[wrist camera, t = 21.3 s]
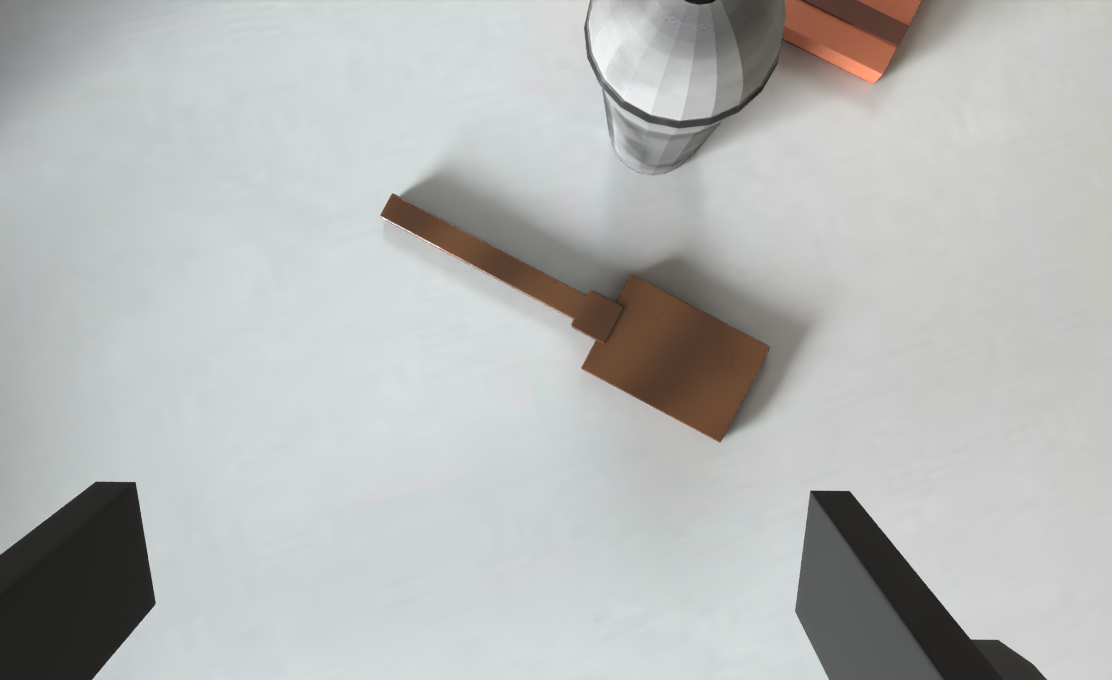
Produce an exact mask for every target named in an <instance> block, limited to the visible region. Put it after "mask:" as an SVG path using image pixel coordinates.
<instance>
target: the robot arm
mask: <svg viewBox="0 0 1112 680" xmlns="http://www.w3.org/2000/svg"><path fill="white" fill-rule="evenodd" d="M155 604H156V603H155V597H154V591H153V585H152V579H151V573H150V566H149V560H148V554H147V548H146V542H145V536H144V530H143V524H142V518H141V512H140V506H139V500H138V494H137V488H136V482H95V483H94V484H92V485H91V486H90V487H88V488H87V489H86V490H85V491H83V492H82V493H81V494H79V495H78V496H77V497H75V498H74V499H73V500H71V501H70V502H69V503H68V504H66V505H65V506H64V507H62V508H61V509H60V510H58V511H57V512H56V513H54V514H53V515H52V516H51V517H49V518H48V519H47V520H45V521H44V522H43V523H41V524H40V525H39V526H37V527H36V528H35V529H34V530H32V531H31V532H30V533H28V534H27V535H26V536H24V537H23V538H22V539H21V540H19V541H18V542H17V543H15V544H14V545H13V546H11V547H10V548H9V549H7V550H6V551H5V552H4V553H2V554H1V555H0V680H92V679H93V678H94V677H95V675H96V674H97V673H98V672H99V671H100V669H101V668H102V667H103V666H104V665H105V663H106V662H107V661H108V660H109V659H110V658H111V656H112V655H113V654H114V653H115V652H116V650H117V649H118V648H119V647H120V646H121V644H122V643H123V642H124V641H125V640H126V639H127V637H128V636H129V635H130V634H131V633H132V631H133V630H134V629H135V628H136V627H137V626H138V624H139V623H140V622H141V621H142V620H143V618H144V617H145V616H146V615H147V614H148V612H149V611H150V610H151V609H152V608H153V607H154V605H155ZM795 612H796V614H797V616H798V618H799V620H800V622H801V624H802V626H803V628H804V630H805V632H806V634H807V636H808V638H809V640H810V642H811V644H812V646H813V648H814V650H815V652H816V654H817V656H818V658H819V660H820V662H821V664H822V666H823V668H824V670H825V672H826V674H827V676H828V678H829V680H1047V679H1046V678H1045V677H1044V676H1043V675H1042V674H1041V673H1040V672H1039V670H1038V669H1037V668H1036V667H1035V666H1034V665H1033V664H1032V663H1031V662H1029V661H1028V660H1026V659H1025V658H1023V657H1022V656H1020V655H1019V654H1018V653H1016V652H1015V651H1013V650H1012V649H1010V648H1009V647H1007V646H1006V645H1005V644H1003V643H1002V642H1000V641H999V640H971V639H970V638H969V637H968V636H967V635H966V633H965V632H964V631H963V630H962V628H961V627H960V626H959V625H958V623H957V622H956V621H955V620H954V619H953V617H952V616H951V615H950V614H949V612H948V611H947V610H946V609H945V608H944V606H943V605H942V604H941V603H940V601H939V600H938V599H937V598H936V596H935V595H934V594H933V593H932V592H931V590H930V589H929V588H928V587H927V585H926V584H925V583H924V582H923V581H922V579H921V578H920V577H919V576H918V574H917V573H916V572H915V571H914V569H913V568H912V567H911V566H910V565H909V563H908V562H907V561H906V560H905V558H904V557H903V556H902V555H901V554H900V552H899V551H898V550H897V549H896V547H895V546H894V545H893V544H892V542H891V541H890V540H889V539H888V538H887V536H886V535H885V534H884V533H883V531H882V530H881V529H880V528H879V527H878V525H877V524H876V523H875V522H874V520H873V519H872V518H871V517H870V516H869V514H868V513H867V512H866V511H865V509H864V508H863V507H862V506H861V504H860V503H859V502H858V501H857V500H856V498H855V497H854V496H853V495H852V493H851V492H850V491H810V499H809V506H808V514H807V522H806V530H805V538H804V546H803V554H802V562H801V570H800V578H799V586H798V593H797V601H796V609H795Z"/></svg>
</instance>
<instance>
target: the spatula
mask: <svg viewBox="0 0 1112 680" xmlns="http://www.w3.org/2000/svg"><path fill="white" fill-rule="evenodd" d="M380 217H381V218H383V219H384V220H386V221H387V222H389V223H391V224H393V225H395V226H397V227H399V228H401V229H403V230H404V231H406V232H408V233H410V234H412V235H414V236H416V237H418V238H420V239H421V240H423V241H425V242H427V243H429V244H431V245H433V246H435V247H437V248H438V249H440V250H442V251H444V252H446V253H448V254H450V255H452V256H454V257H455V258H457V259H459V260H461V261H463V262H465V263H467V264H469V265H471V266H472V267H474V268H476V269H478V270H480V271H482V272H484V273H486V274H488V275H489V276H491V277H493V278H495V279H497V280H499V281H501V282H503V283H505V284H506V285H508V286H510V287H512V288H514V289H516V290H518V291H520V292H522V293H523V294H525V295H527V296H529V297H531V298H533V299H535V300H537V301H539V302H540V303H542V304H544V305H546V306H548V307H550V308H552V309H554V310H556V311H557V312H559V313H561V314H563V315H565V316H567V317H569V318H571V319H573V322H572V324H571V327H572V328H573V329H575V330H577V331H579V332H581V333H583V334H585V335H586V336H588V337H590V338H592V339H594V340H596V341H595V343H594V345H593V347H592V349H591V350H590V352H589V354H588V356H587V358H586V360H585V362H584V364H583V365H582V367H581V368H582V369H583V370H585V371H587V372H589V373H590V374H592V375H594V376H596V377H598V378H600V379H602V380H604V381H605V382H607V383H609V384H611V385H613V386H615V387H617V388H619V389H620V390H622V391H624V392H626V393H628V394H630V395H632V396H634V397H635V398H637V399H639V400H641V401H643V402H645V403H647V404H649V405H650V406H652V407H654V408H656V409H658V410H660V411H662V412H664V413H665V414H667V415H669V416H671V417H673V418H675V419H677V420H679V421H680V422H682V423H684V424H686V425H688V426H690V427H692V428H694V429H695V430H697V431H699V432H701V433H703V434H705V435H707V436H709V437H710V438H712V439H714V440H716V441H718V442H721V440H722V438H723V437H724V435H725V433H726V431H727V429H728V427H729V425H730V423H731V421H732V419H733V418H734V416H735V414H736V412H737V410H738V408H739V406H740V404H741V402H742V400H743V399H744V397H745V395H746V393H747V391H748V389H749V387H750V385H751V383H752V382H753V380H754V378H755V376H756V374H757V372H758V370H759V368H760V366H761V364H762V363H763V361H764V359H765V357H766V355H767V353H768V351H769V349H770V346H768V345H766V344H764V343H762V342H760V341H758V340H756V339H754V338H752V337H751V336H749V335H747V334H745V333H743V332H741V331H739V330H737V329H735V328H733V327H731V326H730V325H728V324H726V323H724V322H722V321H720V320H718V319H716V318H714V317H712V316H710V315H708V314H707V313H705V312H703V311H701V310H699V309H697V308H695V307H693V306H691V305H689V304H687V303H686V302H684V301H682V300H680V299H678V298H676V297H674V296H672V295H670V294H668V293H666V292H665V291H663V290H661V289H659V288H657V287H655V286H653V285H651V284H649V283H647V282H645V281H643V280H642V279H640V278H638V277H636V276H634V275H632V274H631V275H630V277H629V279H628V281H627V283H626V285H625V287H624V288H623V290H622V292H621V294H620V296H619V298H618V300H617V302H615V301H613V300H611V299H609V298H607V297H605V296H603V295H602V294H600V293H598V292H596V291H594V290H592V289H590V290H589V292H588V294H587V295H585V294H583V293H581V292H579V291H577V290H575V289H574V288H572V287H570V286H568V285H566V284H564V283H562V282H560V281H558V280H556V279H555V278H553V277H551V276H549V275H547V274H545V273H543V272H541V271H539V270H537V269H536V268H534V267H532V266H530V265H528V264H526V263H524V262H522V261H520V260H518V259H517V258H515V257H513V256H511V255H509V254H507V253H505V252H503V251H501V250H499V249H498V248H496V247H494V246H492V245H490V244H488V243H486V242H484V241H482V240H480V239H479V238H477V237H475V236H473V235H471V234H469V233H467V232H465V231H463V230H462V229H460V228H458V227H456V226H454V225H452V224H450V223H448V222H446V221H444V220H443V219H441V218H439V217H437V216H435V215H433V214H431V213H429V212H427V211H425V210H424V209H422V208H420V207H418V206H416V205H414V204H412V203H410V202H408V201H406V200H405V199H403V198H401V197H399V196H397V195H395V194H392V195H391V196H390V198H389V200H388V202H387V204H386V206H385V207H384V209H383V211H382V213H381V215H380Z"/></svg>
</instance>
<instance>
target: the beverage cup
mask: <svg viewBox="0 0 1112 680" xmlns="http://www.w3.org/2000/svg"><path fill="white" fill-rule="evenodd" d="M785 18H786V8H785V0H590V3H589V8H588V13H587V17H586V22H585V27H584V30H585V39H586V49H587V58H588V60H589V62H590V64H591V67H592V69H593V71H594V73H595V75H596V77H597V80H598V82H599V84H600V86H601V87H602V90H603V97H604V103H605V109H606V116H607V122H608V129H609V135H610V138H611V140H612V145H613V147H614V149H615V151H616V154H617V156H618V157H619V158H620V159H621V160H622V161H623V162H624V164H625V165H626V166H628V167H629V168H631V169H633V170H635V171H637V172H639V173H644V174H649V175H657V174H665V173H667V172H669V171H672V170H674V169H676V168H678V167H679V166H680V165H681V164H682V163H684V162H685V161H686V160H687V159H688V158H689V157H690V156H691V155H693V154H694V153H695V152H696V150H697V149H698V148H699V147H700V146H701V145H702V144H703V143H704V141H705V140H706V139H707V138H708V137H709V136H710V135H711V133H712V132H713V131H714V130H715V129H716V128H717V127H718V125H719V124H720V123H721V122H722V121H723V120H725V119H726V118H728V117H730V116H731V115H733V114H736V113H738V112H739V111H740V110H741V109H743V108H744V107H745V106H746V105H747V104H748V103H749V102H750V101H751V100H753V99H754V98H755V97H756V96H757V95H758V94H759V93H760V92H761V91H762V90H763V88H764V86H765V85H766V83H767V81H768V79H769V78H770V76H771V74H772V72H773V71H774V69H775V67H776V66H777V63H778V58H779V53H780V48H781V43H782V38H783V32H784V24H785Z"/></svg>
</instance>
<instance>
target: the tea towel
mask: <svg viewBox="0 0 1112 680" xmlns="http://www.w3.org/2000/svg"><path fill="white" fill-rule="evenodd" d="M921 1H922V0H785V8H786V18H785V24H784V32H783V38H782V39H784V40H786V41H788V42H790V43H792V44H794V45H796V46H798V47H800V48H802V49H804V50H806V51H808V52H810V53H812V54H814V55H816V56H818V57H820V58H822V59H824V60H826V61H828V62H830V63H832V64H834V65H836V66H838V67H840V68H842V69H844V70H846V71H848V72H850V73H852V74H854V75H856V76H858V77H860V78H862V79H864V80H866V81H868V82H870V83H872V84H874V83H875V82H876V81H877V80H878V79H879V78H880V77H881V76H882V75H883V73H884V71H885V70H886V68H887V66H888V64H889V62H890V60H891V58H892V56H893V54H894V53H895V51H896V49H897V47H898V46H899V44H900V42H901V40H902V39H903V37H904V35H905V33H906V31H907V29H908V27H909V24H910V22H911V20H912V18H913V17H914V15H915V13H916V11H917V9H918V7H919V5H920V3H921Z"/></svg>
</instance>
